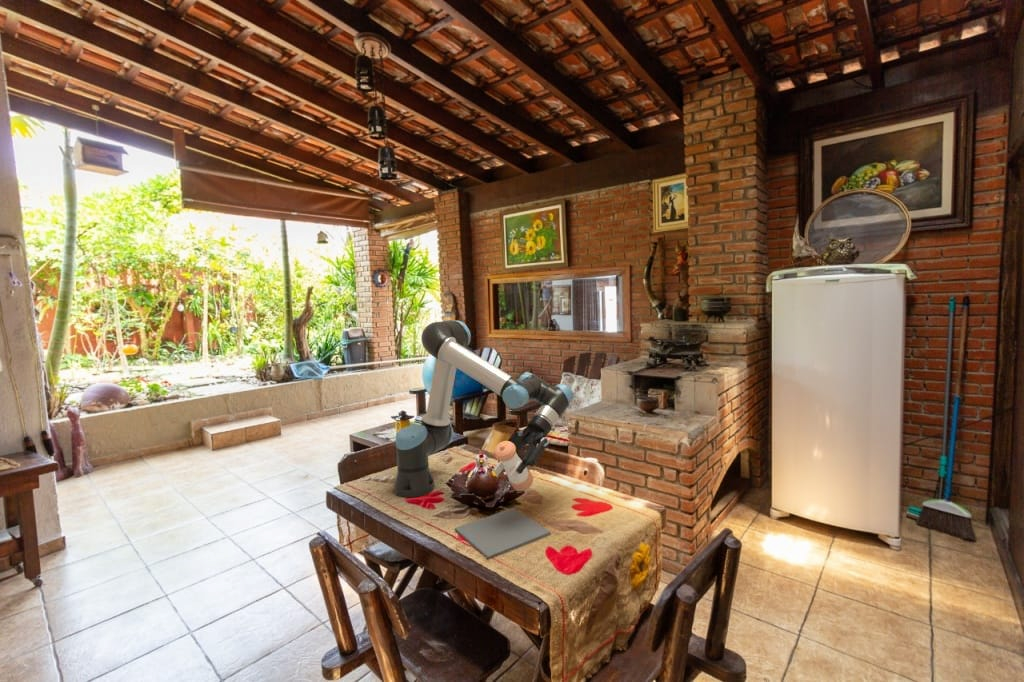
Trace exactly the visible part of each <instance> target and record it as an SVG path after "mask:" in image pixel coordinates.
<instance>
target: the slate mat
mask: <svg viewBox="0 0 1024 682" xmlns="http://www.w3.org/2000/svg"><path fill="white" fill-rule="evenodd" d="M454 531H455V532H456V533H457V534H459V536H461V537H462V538H463V539H464V540H465V542H468V543H469V544H470V545H471V546H472V547H473V548H474V549H475V550H477V551H478V553H480V554H481V555H482V554H483V555H484V556H483V557H485V559H487V560H491V559H493V558H495V556H496V557H498V556H501V555H502V554H505V553H508V552H510V551H513V550H515V549H518V548H521V547H523V546H525V545H528V544H530V543H533V542H535V541H537V540H540V539H543V538H546V537H547V536H550V535H552V531H551V530H548V529H547V527H544V526H543V525H541V524H539V523H538V522H536V521H535V520H533V519H531V517H528V516H527V515H525V514H523V513H522V512H520V511H519V510H517V509H516V508H515V507H512V508H509V509H506V510H503V511H501V512H497V513H495V514H491V515H489V516H486V517H483V518H480V519H477V520H474V521H472V522H469V523H465V524H463V525H459V526H456V527H454ZM490 558H491V559H490Z"/></svg>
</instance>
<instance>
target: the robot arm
mask: <svg viewBox="0 0 1024 682" xmlns="http://www.w3.org/2000/svg"><path fill="white" fill-rule="evenodd" d="M471 337H472V334H471V331H470V329H469V328H468V326H467V324H465V322H462V321H461V320H458V319H457V320H454V319H450V320H445V321H444V320H443V321H435V322H432V323H430V324H428V325H426V326H425V328H424V329H423V331H422V334H421V337H420V338H421V344H422V346H423V349H424V350H425V351H426V352H427V353H428V354H429V355H431V357H433V358H435V361H434V367H433V372H432V373H433V374H432V379H431V385H430V391H429V397H428V403H427V409H426V413H425V414H423V415H422V417H421V420H420V421H421V422H420V424H411V425H410V426H409V425H408V426H404V427H402V428H401V429H399V430H398V431H397V433H396V434H395V445H394V446H395V449H396V451H395V452H396V467H397V473H396V475H395V481H394V484H393V493H394V494H395V495H396V496H398V497H403V498H416V497H420V496H424V495H426V494H429V493H430V492H432V491H433V490H434V489H435V479H434V477H433V474H432V471H431V470H430V464H429V456H431V455H433V454H435V453H437V452H438V451H441V450H443V449H445V448H446V447H447V446H449V445H450V444H451V442H452V440H453V438H454V428H453V427H452V424H451V422H452V421H451V418H450V417H449V411H450V406H451V400H452V395H453V390H454V383H455V377H456V372H457V369H458V370H459V371H461V372H463V374H465V375H467V376H469V377H470V378H471V379H473V380H475V381H477V382H478V383H480V384H481V385H483V386H484V387H485V388H487V389H488V390H490V391H492V392H494V393H495V394H496V395H498V396H500V397H501V398H502V401H503V402H504V404H505V406H507V407H508V408H510V409H518V408H522V407H524V406H526V405H527V404H528V403H530V402H532V401H535V402H537V403H539V404H541V406H540V407H539V408H538V410H537V411H536V412H535V413H534V415H533V416H532V417H531V418H530V420H529V422H528V423H527V426H526V427H525V428H523V429H520V428H515V429H514V433H513V434H512V435H511V436H510V437H509V438H508V439H507V441H510V442H512V443H513V444H514V445H515V447H516V452H518V450H520V449H521V448H522V447H524V446H526V445H528V446H527V447H526V450H525V451H524V452H525V453H524V454H523V455H524V456H523V458H520V459H521V460H522V461H520V460H519V462H518V463H517V465H516V466H515V467H514V469H513V470H512V471H511V473H510V474H509V475H508V476H507V478H508V480H509V483H511V482H512V483H513V481H514V480H515V478H516V477H517V476H518V474H521V473H522V472H523V470H524V469H525V467H526V468H528V466H529V467H531V468H533V467H534V466H535V465H536V462H537V461H538V460H539V459H540V457H541V455H542V454H543V452H544V451H545V450H546V449H547V448H548V447H549V446H550V442H549V441H548V439H547V438H546V437H548V436H549V433H551V431H552V430H553V428H554V427H555V425H556V424H557V423H558V421H559V419H560V418H561V417H562V416H563V415H564V413H565V412H566V410H568V408H569V407H570V404H571V403H572V401H573V399H574V398H575V393H574V391H573V390H572V388H571V387H569V386H568V385H567V384H563V383H559V384H557V385H555V386H554V385H551V384H550V383H548V382H546V381H545V380H543V379H541V378H540V377H538V376H537V375H536V374H533V373H531V372H529V371H525V372H523V373H522V374H521V375H520V377H518V379H517V378H515V377H513V376H512V375H510V374H509V373H506V372H505V371H503V370H502V369H500V368H498V367H497V366H496V365H494V364H492V363H491V362H490V361H487V360H486V359H484V358H482V357H481V356H479V355H478V354H476V353H474V352H473V351H471V350H470V349H468V348H467V347H468V346H469V345H470V343H471ZM497 462H498V463H497V465H496V466H495V467H494V468H493V469H492V471H493V472H494V474H495V475H496V476H499V475H500V474H501V472H503V470H505V468H504V466H503V464H502V462H501V461H499V460H497Z"/></svg>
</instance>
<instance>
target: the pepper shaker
mask: <svg viewBox="0 0 1024 682" xmlns="http://www.w3.org/2000/svg"><path fill="white" fill-rule="evenodd" d="M493 455H494V457H495V458H496V460H497V461H501V462H502V464H503V466H504V471H505V474H506V475H507V477H508V475H509V474H510V473H511V471H512V470H513V469H514V467H515V466H516V465H517V463H518V462H519V460H520V461H522V460H521V459H522V458H520V457H519V454H517V451H516V447H515V445H514V444H513V443H512V442H510V441H508V440H504V441H501V442H499V443H498V444H497V445H496V446H495V448H494V453H493ZM533 483H534V476H533V475H532V472H531V471H530V469H529V468H528V467H525V469H524V470H523V472H522V473H521V474H518V476H517V477H516V478H515V480H514V481H513V483H512V482H510V484H511V486H512V488H513V489H514V490H515V491H517V492H524V491H526V490H528V489H530V487H532V485H533Z"/></svg>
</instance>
